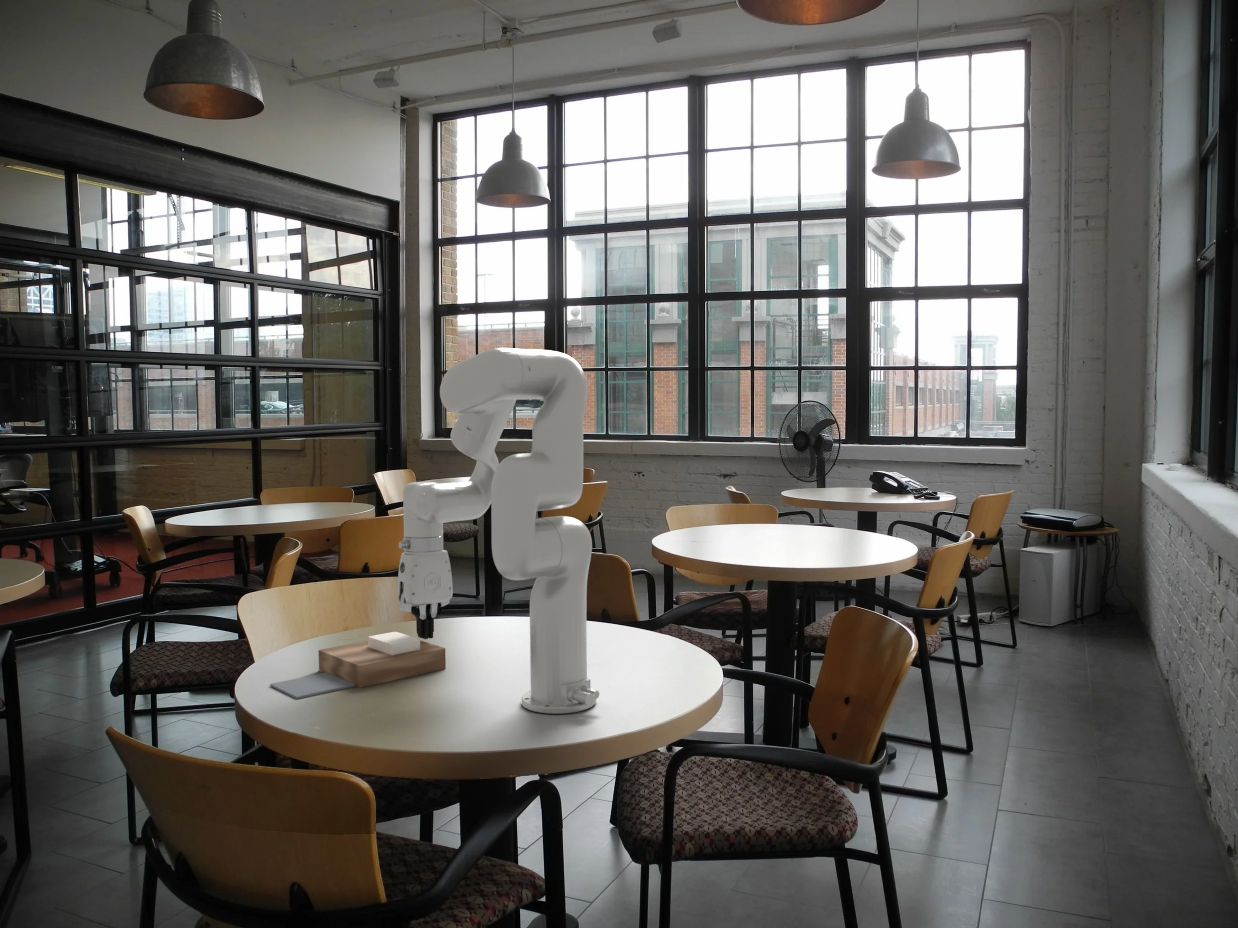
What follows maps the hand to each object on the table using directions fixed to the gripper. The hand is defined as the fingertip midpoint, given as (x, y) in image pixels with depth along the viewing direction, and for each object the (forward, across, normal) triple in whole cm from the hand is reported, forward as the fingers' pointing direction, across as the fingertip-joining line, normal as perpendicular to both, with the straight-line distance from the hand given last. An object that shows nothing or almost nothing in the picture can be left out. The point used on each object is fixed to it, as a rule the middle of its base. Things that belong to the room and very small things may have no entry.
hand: (425, 637), depth 185 cm
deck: (+5, -9, +1) cm, 10 cm away
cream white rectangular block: (+1, -7, 0) cm, 7 cm away
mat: (+5, -24, 0) cm, 24 cm away
